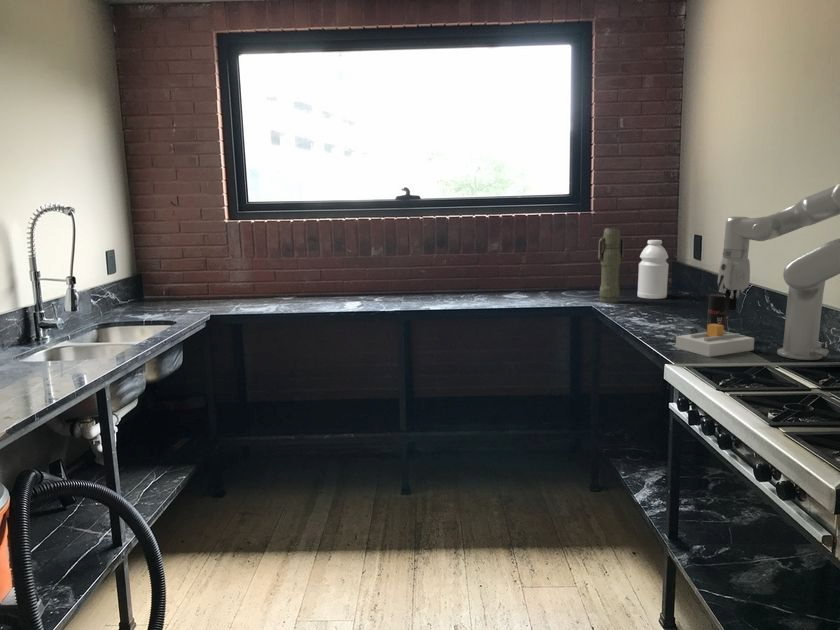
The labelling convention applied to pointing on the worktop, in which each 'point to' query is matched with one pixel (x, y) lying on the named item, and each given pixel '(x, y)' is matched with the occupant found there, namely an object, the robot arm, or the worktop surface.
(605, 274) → the thermos
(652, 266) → the bottle
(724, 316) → the deodorant
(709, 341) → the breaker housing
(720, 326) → the block
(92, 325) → the worktop surface
